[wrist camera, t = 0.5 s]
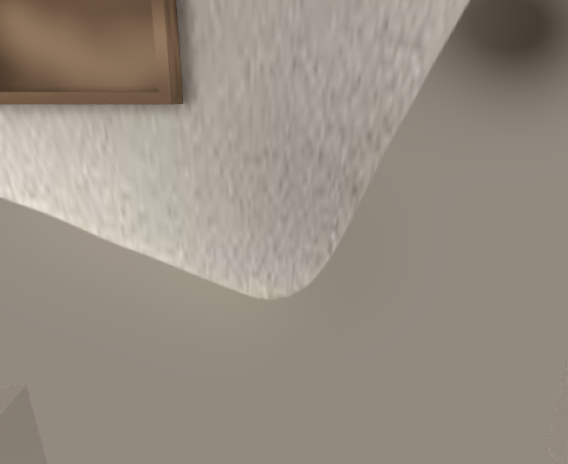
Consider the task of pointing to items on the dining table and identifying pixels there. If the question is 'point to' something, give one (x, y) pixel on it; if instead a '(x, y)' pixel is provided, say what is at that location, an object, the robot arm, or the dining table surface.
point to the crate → (89, 52)
